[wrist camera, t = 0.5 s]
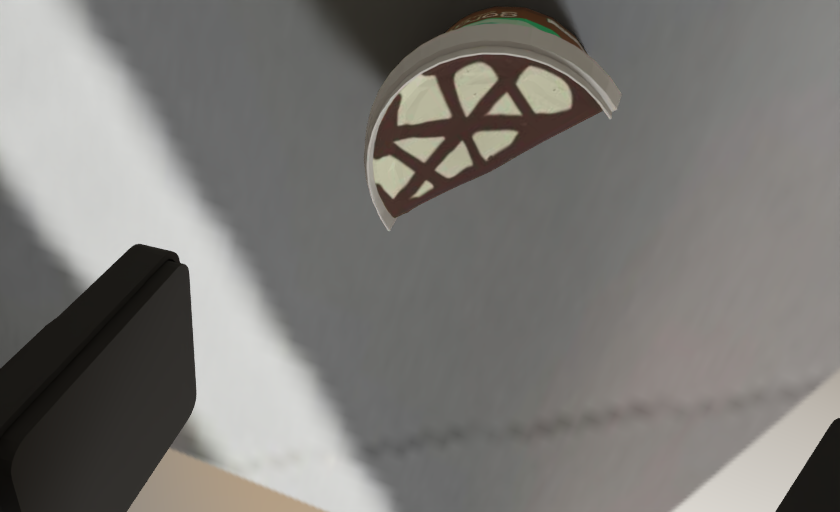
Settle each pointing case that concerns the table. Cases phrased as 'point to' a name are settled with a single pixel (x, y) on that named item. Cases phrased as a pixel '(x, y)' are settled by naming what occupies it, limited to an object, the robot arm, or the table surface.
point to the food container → (477, 104)
